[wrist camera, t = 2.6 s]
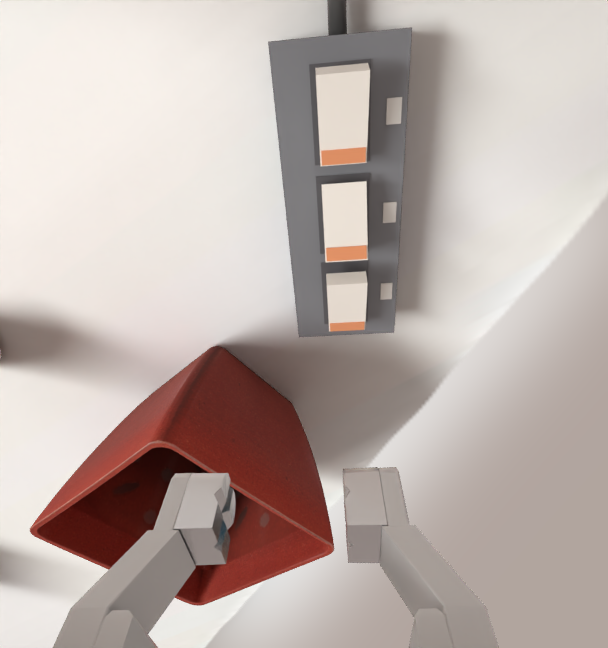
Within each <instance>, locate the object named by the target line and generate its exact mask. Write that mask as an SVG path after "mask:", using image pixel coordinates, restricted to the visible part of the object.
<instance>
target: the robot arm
mask: <svg viewBox="0 0 608 648" xmlns="http://www.w3.org/2000/svg"><path fill="white" fill-rule="evenodd" d="M343 484H344V486H343V487H344V507H345V521H346V538H347V551H348V563H349V562H350V563H380V566H381V567H382V569H383V570H384V572H385V573H386V575H387V576H388V578H389V580H390V581H391V583H392V584H393V586H394V587H395V589H396V590H397V592H398V593H399V595H400V597H401V598H402V600H403V601H404V603H405V604H406V606H407V607H408V609H409V610H410V612H411V614H412V615H413V617H414V623H413V628H412V633H411V638H410V644H409V648H499V646H498V643H497V640H496V637H495V633H494V630H493V627H492V624H491V621H490V618H489V614H488V611H487V608H486V606H485V605H484V604H483V603H482V602H481V601H480V599H479V598H478V597H477V596H476V595H475V594H474V592H473V591H472V590H471V589H470V588H469V587H468V586H467V585H466V583H465V582H464V581H463V580H462V579H461V578H460V576H459V575H458V574H457V573H456V572H455V570H454V569H453V568H452V567H451V566H450V565H449V564H448V562H447V561H446V560H445V559H444V558H443V557H442V555H441V554H440V553H439V552H438V551H437V550H436V549H435V547H434V546H433V545H432V544H431V543H430V542H429V541H428V539H427V538H426V537H425V536H424V535H423V534H422V532H421V531H420V530H419V529H418V528H417V527H416V526H415V525H409V519H408V515H407V510H406V505H405V500H404V496H403V491H402V486H401V481H400V476H399V472H398V470H397V468H396V467H389V468H377V467H375V468H353V469H343ZM229 485H230V477H229V474H228V473H176V474H175V475H174V476H173V477H172V479H171V481H170V484H169V487H168V490H167V492H166V495H165V498H164V501H163V504H162V507H161V509H160V512H159V515H158V518H157V521H156V524H155V526H154V529H153V530H148V531H147V532H146V533H145V534H144V535H143V536H142V537H141V538H140V539H139V540H138V541H137V542H136V543H135V544H134V545H133V546H132V547H131V548H130V549H129V550H128V551H127V552H126V553H125V554H124V555H123V556H122V557H121V558H120V559H119V560H118V561H117V562H116V563H115V564H114V565H113V566H112V567H111V568H110V569H109V570H108V571H107V572H106V573H105V574H104V575H103V576H102V577H101V578H100V579H99V580H98V581H97V582H96V583H95V584H94V585H93V586H92V587H91V588H90V589H89V590H88V591H87V592H86V593H85V594H84V596H83V597H82V598H81V599H80V600H79V601H78V602H77V603H76V604H75V605H74V606H73V607H72V608H71V609H70V611H69V613H68V616H67V618H66V620H65V622H64V624H63V626H62V629H61V631H60V633H59V635H58V637H57V640H56V642H55V644H54V646H53V648H158V647H157V646H156V644H155V643H154V642H153V641H152V639H151V638H150V637H149V635H148V633H149V632H150V631H151V629H152V628H153V626H154V625H155V624H156V622H157V621H158V620H159V618H160V617H161V615H162V614H163V613H164V611H165V610H166V608H167V607H168V606H169V604H170V603H171V601H172V600H173V599H174V597H175V596H176V594H177V593H178V592H179V590H180V589H181V587H182V586H183V585H184V583H185V582H186V580H187V579H188V578H189V576H190V575H191V574H192V572H193V571H194V569H195V568H196V566H195V565H216V564H226V561H227V556H228V550H229V545H230V540H231V539H230V536H229V533H228V529H229V528H230V527H231V526H232V524H233V523H234V517H235V505H236V500H235V493H234V490H233V489H232V488H231V487H229Z"/></svg>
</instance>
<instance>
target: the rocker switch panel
mask: <svg viewBox="0 0 608 648" xmlns="http://www.w3.org/2000/svg"><path fill="white" fill-rule="evenodd" d="M327 1H328V30H329V36H321V37H311V38H301V39H291V40H281V41H271V42H268V45H269V54H270V64H271V73H272V83H273V92H274V102H275V112H276V121H277V131H278V140H279V150H280V159H281V169H282V179H283V188H284V198H285V207H286V217H287V226H288V236H289V246H290V255H291V265H292V274H293V284H294V293H295V303H296V313H297V322H298V332H299V337H312V336H332V335H352V334H372V333H392V332H394V325H395V308H396V291H397V274H398V257H399V240H400V223H401V206H402V189H403V172H404V155H405V138H406V121H407V104H408V87H409V70H410V53H411V36H412V28H402V29H392V30H382V31H372V32H362V33H352V34H347V20H346V0H327ZM361 63H368V65H369V68H370V90H369V116H368V141H367V163H359V164H346V165H333V166H320V147H319V128H318V109H317V89H316V70H315V68H319V67H330V66H340V65H351V64H361ZM363 181H366V182H367V238H368V260H359V261H343V262H327V263H326V262H325V243H324V224H323V204H322V185H323V184H336V183H350V182H363ZM362 271H366V276H367V282H368V285H367V304H366V322H365V330H351V331H332V332H330V331H329V319H328V300H327V281H326V274H329V273H346V272H362Z"/></svg>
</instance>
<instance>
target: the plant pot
mask: <svg viewBox="0 0 608 648" xmlns="http://www.w3.org/2000/svg"><path fill="white" fill-rule="evenodd" d="M176 473H228V474H229V477H230V485H229V487H231V488H232V489H233V490H234V493H235V500H236V505H235V517H234V523H233V524H232V526H231V527H230V528H229V529H228V533H229V536H230V539H231V540H230V545H229V550H228V556H227V561H226V564H216V565H195V566H196V568H195V569H194V571H193V572H192V574H191V575H190V576H189V578H188V579H187V580H186V582H185V583H184V585H183V586H182V587H181V589H180V590H179V592H178V593H177V594H176V596H175V598H177V599H179V600H181V601H184V602H186V603H189V604H192V605H204V604H207V603H210V602H212V601H215V600H217V599H220V598H222V597H225V596H227V595H230V594H232V593H235V592H237V591H240V590H242V589H245V588H247V587H250V586H252V585H255V584H257V583H260V582H262V581H265V580H267V579H270V578H272V577H274V576H277V575H279V574H282V573H284V572H287V571H289V570H292V569H294V568H297V567H299V566H302V565H305V564H307V563H310V562H312V561H315V560H317V559H319V558H322V557H325V556H327V555H329V554H331V553H332V552H333V551H334V544H333V537H332V532H331V526H330V521H329V516H328V511H327V506H326V502H325V497H324V493H323V488H322V485H321V481H320V477H319V474H318V470H317V467H316V463H315V460H314V457H313V454H312V451H311V448H310V445H309V442H308V440H307V437H306V434H305V432H304V429H303V427H302V425H301V422H300V420H299V417H298V415H297V413H296V411H295V409H294V407H293V405H292V403H291V402H290V401H288V400H287V399H286V398H284V397H283V396H282V395H281V394H280V393H278V392H277V391H276V390H275V389H273V388H272V387H271V386H270V385H268V384H267V383H266V382H265V381H264V380H262V379H261V378H260V377H259V376H257V375H256V374H255V373H254V372H253V371H251V370H250V369H249V368H248V367H246V366H245V365H244V364H243V363H241V362H240V361H239V360H238V359H237V358H235V357H234V356H233V355H232V354H230V353H229V352H228V351H227V350H225V349H224V348H222V347H219V346H215V347H211V348H210V349H208V350H207V351H206V352H205V353H203V354H202V355H201V356H199V357H198V358H197V359H196V360H194V361H193V362H192V363H190V364H189V365H188V366H187V367H185V368H184V369H183V370H182V371H180V372H179V373H178V374H176V375H175V376H174V377H173V378H171V379H170V380H169V381H168V382H166V383H165V384H164V385H162V386H161V387H160V388H159V389H157V390H156V391H155V392H154V393H152V394H151V395H150V396H149V397H148V398H147V399H145V400H144V401H143V402H142V403H141V404H140V405H139V406H137V407H136V408H135V409H134V410H133V411H132V412H131V413H130V414H129V415H128V416H127V417H126V418H125V419H124V420H123V421H122V422H121V423H120V424H119V425H118V426H117V427H116V428H115V429H114V430H113V431H112V432H111V433H110V434H109V435H108V436H107V438H106V439H105V440H104V441H103V442H102V443H101V444H100V445H99V446H98V447H97V448H96V449H95V450H94V451H93V453H92V454H91V455H90V456H89V457H88V458H87V459H86V460H85V461H84V462H83V464H82V465H81V466H80V467H79V468H78V469H77V470H76V472H75V473H74V474H73V475H72V476H71V477H70V479H69V480H68V481H67V482H66V483H65V484H64V486H63V487H62V488H61V489H60V490H59V492H58V493H57V494H56V495H55V497H54V498H53V499H52V500H51V502H50V503H49V504H48V505H47V507H46V508H45V509H44V511H43V512H42V513H41V514H40V516H39V517H38V518H37V520H36V521H35V522H34V524H33V525H32V526H31V528H30V532H31V534H32V535H34V536H35V537H37V538H39V539H42V540H44V541H46V542H48V543H50V544H52V545H54V546H57V547H59V548H61V549H63V550H66V551H68V552H70V553H72V554H75V555H77V556H79V557H81V558H84V559H86V560H88V561H91V562H93V563H95V564H97V565H100V566H102V567H104V568H106V569H110V568H111V567H112V566H113V565H114V564H115V563H116V562H117V561H118V560H119V559H120V558H121V557H122V556H123V555H124V554H125V553H126V552H127V551H128V550H129V549H130V548H131V547H132V546H133V545H134V544H135V543H136V542H137V541H138V540H139V539H140V538H141V537H142V536H143V535H144V534H145V533H146V532H147V531H148V530H153V529H154V526H155V524H156V521H157V518H158V515H159V512H160V509H161V507H162V504H163V501H164V498H165V495H166V492H167V490H168V487H169V484H170V481H171V479H172V477H173V476H174V475H175V474H176Z"/></svg>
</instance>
